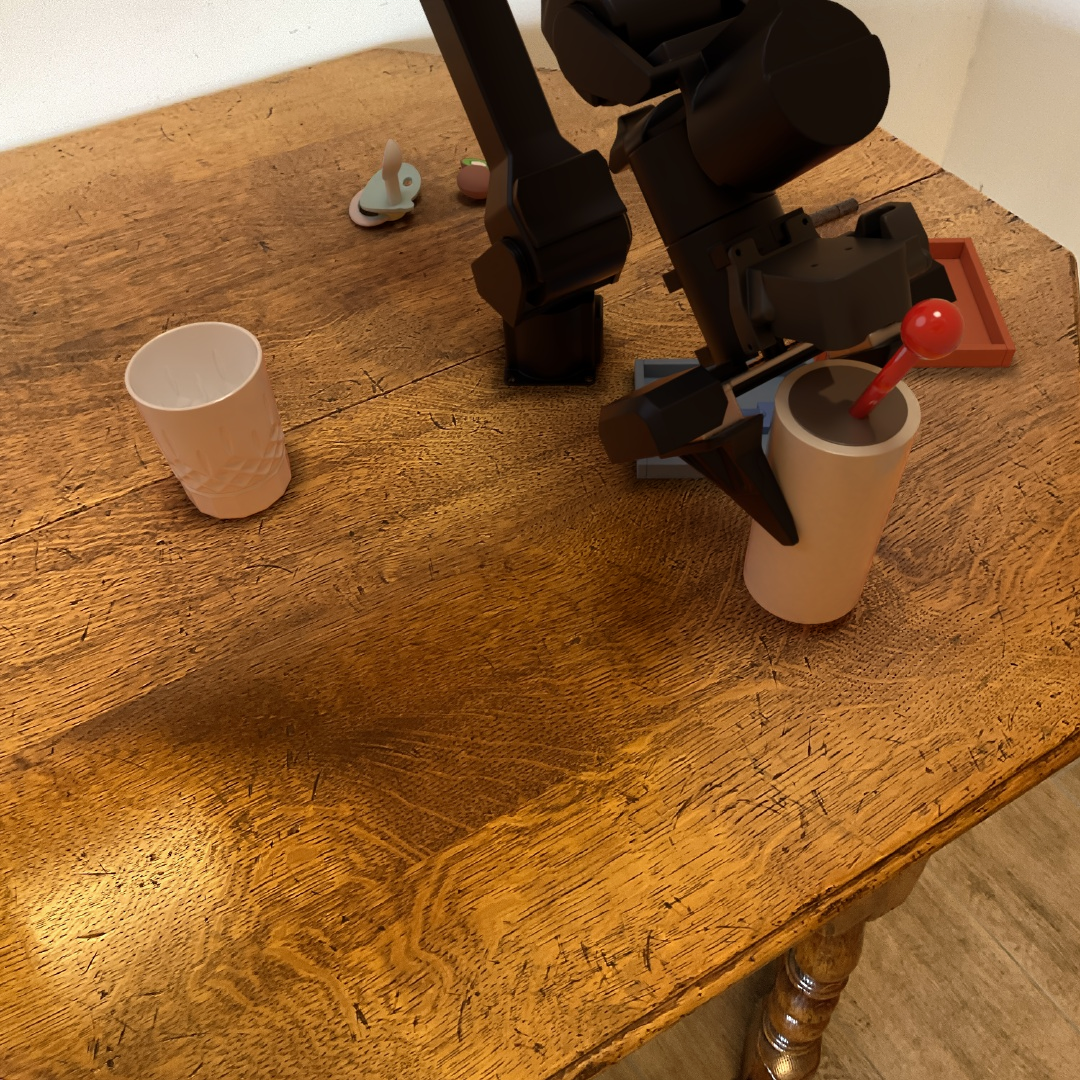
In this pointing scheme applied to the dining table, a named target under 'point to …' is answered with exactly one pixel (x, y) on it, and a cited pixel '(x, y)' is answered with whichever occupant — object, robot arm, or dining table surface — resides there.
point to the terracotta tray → (969, 310)
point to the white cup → (213, 416)
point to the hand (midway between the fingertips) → (842, 514)
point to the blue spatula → (761, 408)
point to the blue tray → (661, 368)
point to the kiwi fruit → (473, 178)
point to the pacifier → (387, 190)
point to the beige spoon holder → (841, 469)
